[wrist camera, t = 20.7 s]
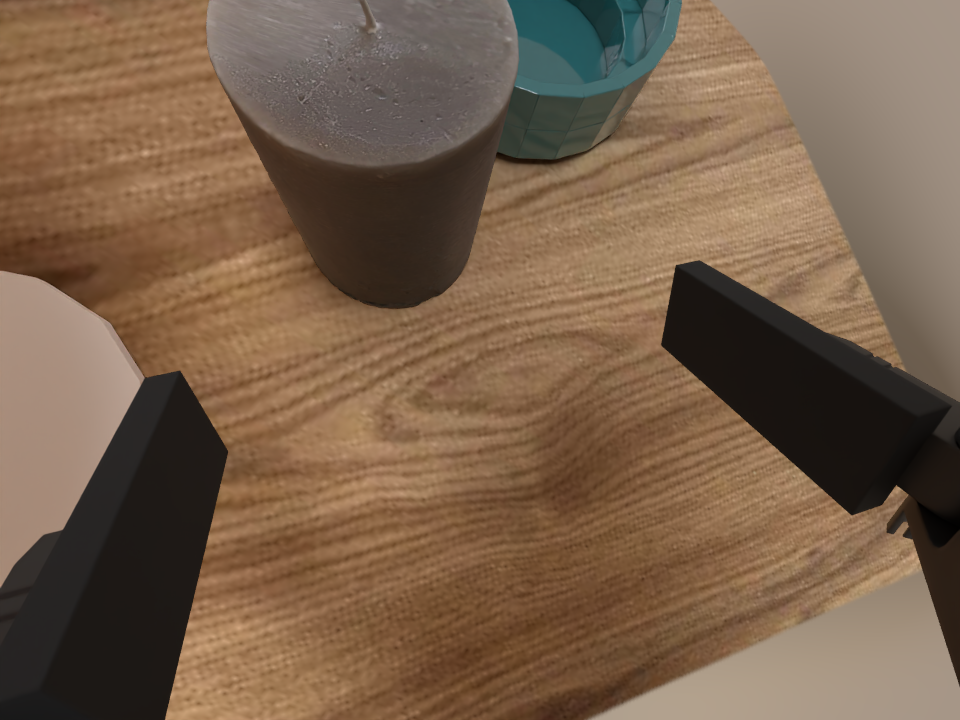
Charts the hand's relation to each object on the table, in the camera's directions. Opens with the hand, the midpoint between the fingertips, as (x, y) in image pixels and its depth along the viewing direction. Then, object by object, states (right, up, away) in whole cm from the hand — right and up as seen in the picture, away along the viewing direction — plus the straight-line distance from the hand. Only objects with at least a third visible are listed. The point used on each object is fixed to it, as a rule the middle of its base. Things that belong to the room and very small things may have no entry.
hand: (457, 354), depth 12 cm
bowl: (+4, +20, +19) cm, 28 cm away
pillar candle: (-5, +8, +15) cm, 18 cm away
